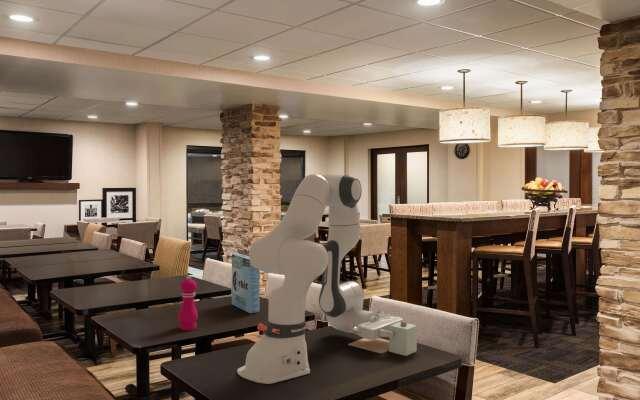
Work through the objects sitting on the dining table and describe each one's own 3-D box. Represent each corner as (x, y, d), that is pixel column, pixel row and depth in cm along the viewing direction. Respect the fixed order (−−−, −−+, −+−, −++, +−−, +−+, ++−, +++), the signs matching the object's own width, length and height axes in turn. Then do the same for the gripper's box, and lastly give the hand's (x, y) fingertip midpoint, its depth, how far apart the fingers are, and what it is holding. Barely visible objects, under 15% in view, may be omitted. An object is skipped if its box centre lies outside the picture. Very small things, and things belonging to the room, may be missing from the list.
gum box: (259, 312, 230) (260, 258, 229) (248, 313, 228) (249, 259, 227) (241, 303, 247) (242, 252, 246) (230, 304, 244) (231, 253, 243)
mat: (381, 354, 179) (381, 353, 179) (347, 345, 188) (347, 344, 188) (403, 344, 190) (403, 344, 190) (370, 336, 199) (370, 335, 199)
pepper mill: (192, 331, 200) (193, 277, 199) (174, 329, 202) (175, 276, 201) (201, 326, 207) (201, 274, 206) (183, 324, 209) (184, 273, 208)
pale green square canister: (406, 356, 177) (407, 325, 177) (389, 352, 181) (390, 321, 181) (416, 352, 182) (417, 321, 182) (399, 347, 186) (400, 318, 186)
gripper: (349, 320, 183) (384, 328, 174) (383, 310, 199) (416, 317, 190) (349, 339, 183) (383, 348, 174) (382, 327, 199) (416, 334, 190)
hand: (401, 331), depth 182 cm, fingers open, 8 cm apart
